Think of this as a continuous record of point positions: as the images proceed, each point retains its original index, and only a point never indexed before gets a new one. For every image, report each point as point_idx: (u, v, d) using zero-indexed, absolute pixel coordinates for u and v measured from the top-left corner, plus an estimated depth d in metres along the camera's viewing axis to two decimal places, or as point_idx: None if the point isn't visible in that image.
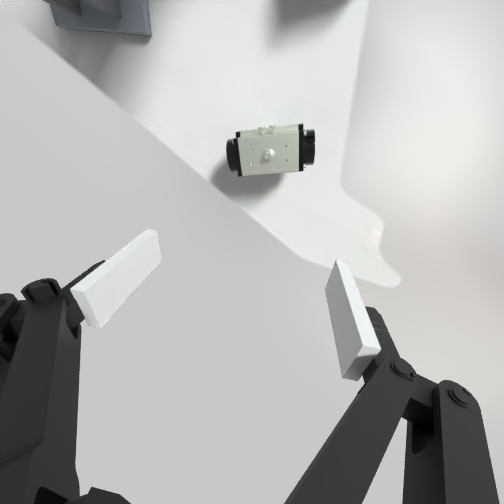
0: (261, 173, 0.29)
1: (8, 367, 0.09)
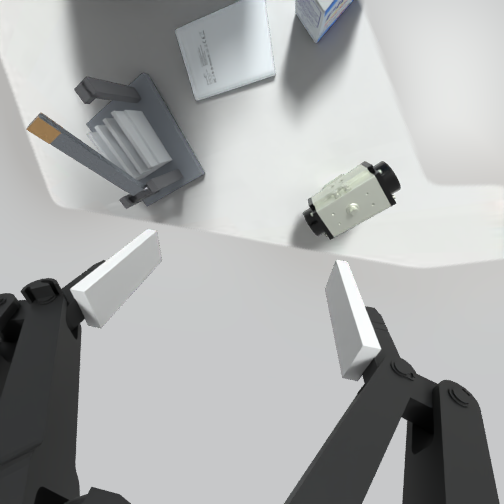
0: (352, 226, 0.28)
1: (8, 367, 0.09)
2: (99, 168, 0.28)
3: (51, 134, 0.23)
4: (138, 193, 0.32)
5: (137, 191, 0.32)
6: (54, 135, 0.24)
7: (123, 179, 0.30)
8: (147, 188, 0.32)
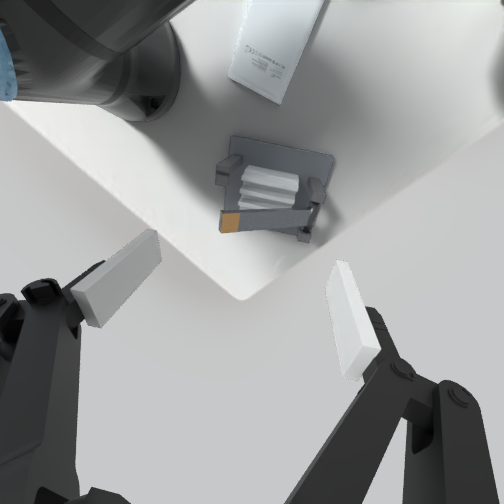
0: None
1: (8, 367, 0.09)
2: (274, 221, 0.26)
3: (235, 221, 0.24)
4: (309, 218, 0.29)
5: (307, 217, 0.29)
6: (237, 220, 0.24)
7: (293, 215, 0.27)
8: (314, 205, 0.28)
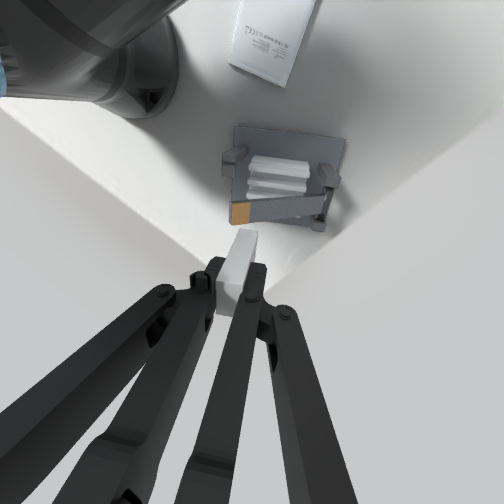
0: None
1: (147, 352, 0.10)
2: (286, 210, 0.25)
3: (246, 211, 0.22)
4: (323, 205, 0.27)
5: (321, 204, 0.27)
6: (248, 210, 0.22)
7: (307, 202, 0.26)
8: (328, 191, 0.26)
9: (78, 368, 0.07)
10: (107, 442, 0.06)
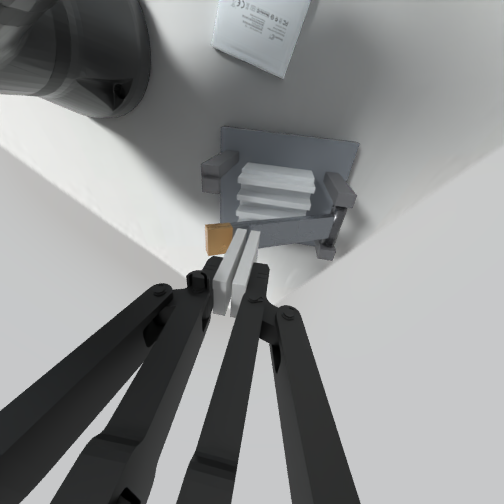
0: None
1: (145, 351, 0.10)
2: (282, 235, 0.19)
3: (227, 239, 0.17)
4: (332, 228, 0.21)
5: (330, 227, 0.21)
6: (229, 237, 0.17)
7: (310, 225, 0.20)
8: (339, 211, 0.20)
9: (75, 368, 0.07)
10: (106, 441, 0.06)
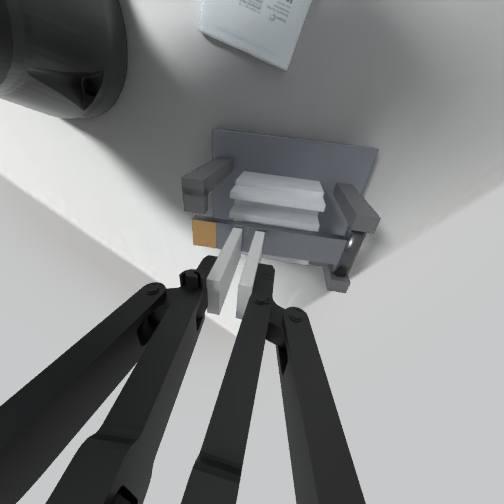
0: None
1: (139, 350, 0.10)
2: (273, 245, 0.18)
3: (211, 233, 0.18)
4: (342, 254, 0.17)
5: (339, 251, 0.17)
6: (213, 232, 0.18)
7: (309, 242, 0.17)
8: (351, 234, 0.16)
9: (69, 368, 0.07)
10: (101, 441, 0.06)
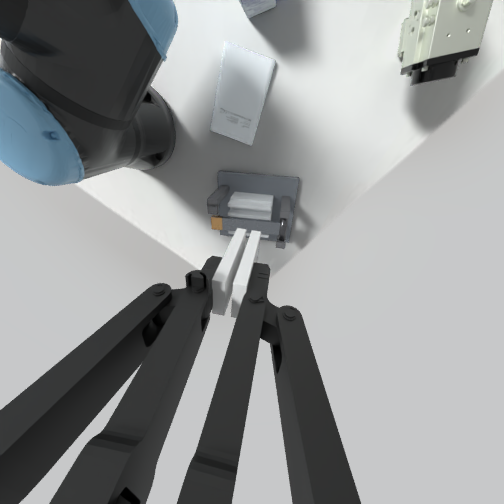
0: (488, 11, 0.21)
1: (144, 351, 0.10)
2: (248, 227, 0.38)
3: (220, 223, 0.39)
4: (279, 229, 0.38)
5: (278, 228, 0.38)
6: (220, 222, 0.38)
7: (264, 225, 0.38)
8: (281, 220, 0.37)
9: (74, 368, 0.07)
10: (104, 442, 0.06)
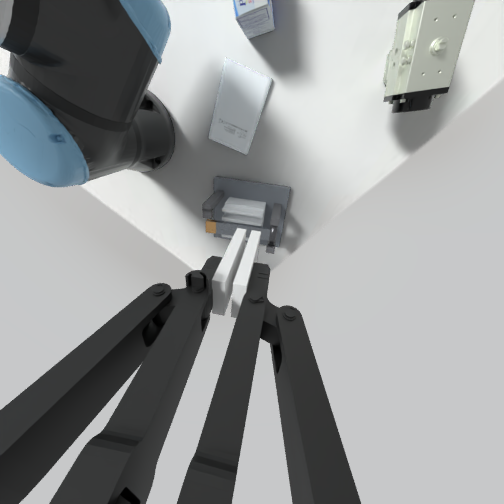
0: (456, 56, 0.23)
1: (144, 351, 0.10)
2: None
3: (214, 226, 0.41)
4: (269, 235, 0.40)
5: (268, 234, 0.40)
6: (214, 226, 0.41)
7: (255, 230, 0.40)
8: (271, 227, 0.39)
9: (74, 368, 0.07)
10: (105, 442, 0.06)
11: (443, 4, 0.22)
